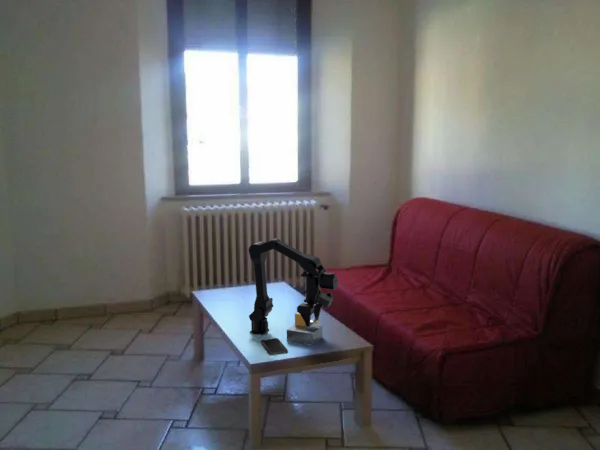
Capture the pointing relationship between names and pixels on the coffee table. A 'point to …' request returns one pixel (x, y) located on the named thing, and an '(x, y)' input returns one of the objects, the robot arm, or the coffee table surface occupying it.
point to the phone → (273, 346)
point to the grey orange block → (299, 320)
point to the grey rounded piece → (314, 324)
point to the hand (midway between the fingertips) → (312, 323)
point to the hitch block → (303, 335)
